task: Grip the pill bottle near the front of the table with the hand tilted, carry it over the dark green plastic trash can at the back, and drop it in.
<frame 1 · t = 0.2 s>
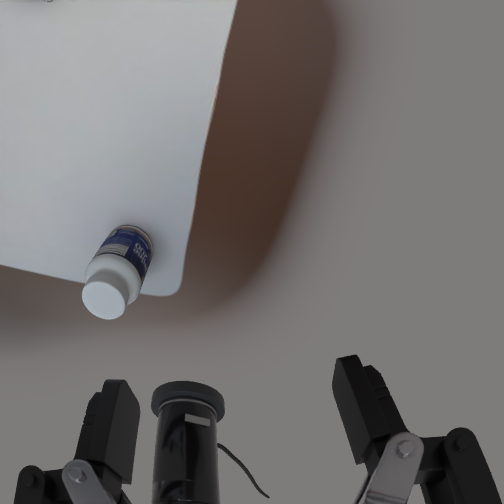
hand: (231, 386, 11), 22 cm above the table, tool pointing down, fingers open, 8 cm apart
pill bottle: (130, 245, 32), on the table
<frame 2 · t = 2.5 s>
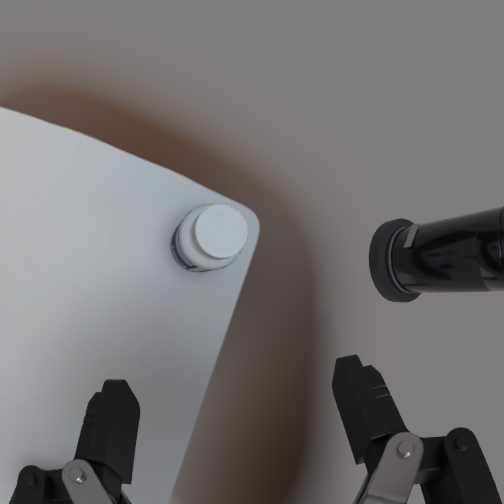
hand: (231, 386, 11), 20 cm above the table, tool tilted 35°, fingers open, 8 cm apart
pill bottle: (195, 245, 31), on the table
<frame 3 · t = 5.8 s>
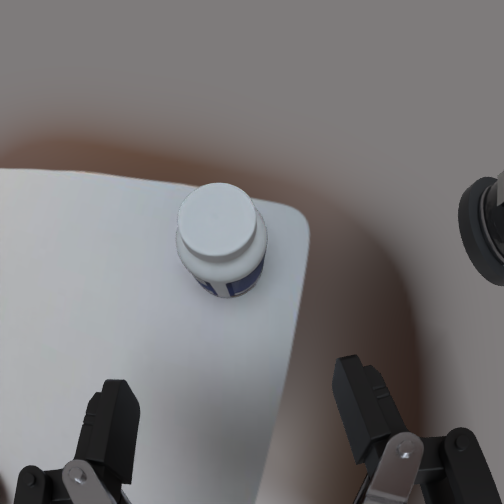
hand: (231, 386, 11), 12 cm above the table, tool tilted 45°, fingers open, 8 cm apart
pill bottle: (228, 265, 25), on the table
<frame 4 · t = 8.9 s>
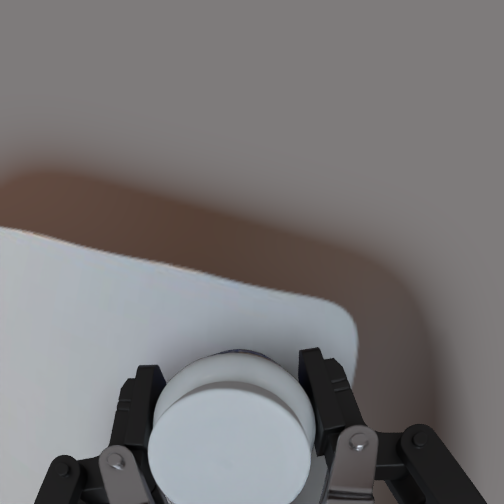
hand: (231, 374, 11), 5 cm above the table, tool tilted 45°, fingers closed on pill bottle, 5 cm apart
pill bottle: (239, 395, 15), on the table, touching gripper
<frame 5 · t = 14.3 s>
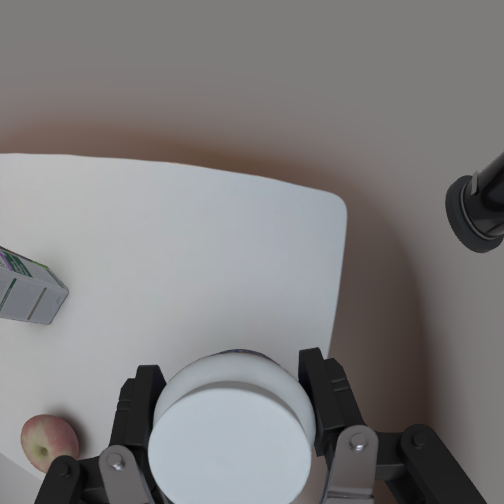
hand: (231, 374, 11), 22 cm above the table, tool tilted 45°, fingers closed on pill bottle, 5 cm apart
pill bottle: (239, 395, 15), point 17 cm above the table, touching gripper
apple: (68, 436, 29), on the table
syrup box: (48, 296, 34), on the table
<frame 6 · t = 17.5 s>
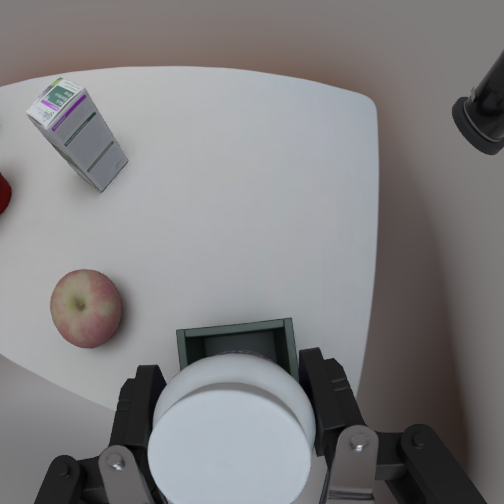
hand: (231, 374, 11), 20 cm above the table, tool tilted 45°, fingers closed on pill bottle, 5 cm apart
trash can: (242, 368, 30), on the table
pill bottle: (239, 396, 15), point 15 cm above the table, touching gripper
plastic cup: (0, 201, 35), on the table
apple: (104, 313, 31), on the table
syrup box: (103, 168, 37), on the table
when the fingers open (13 cm above the table, at t = 20.1 s): pill bottle drops 8 cm, resting on trash can.
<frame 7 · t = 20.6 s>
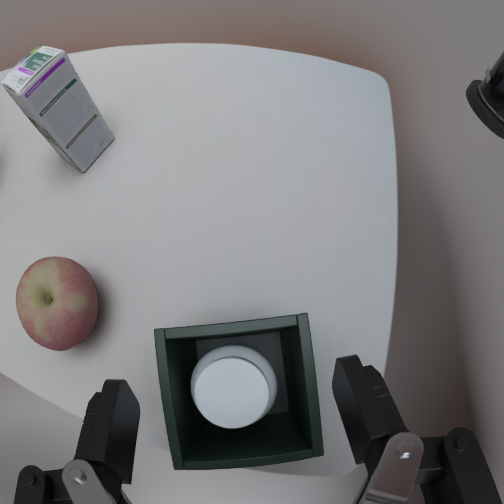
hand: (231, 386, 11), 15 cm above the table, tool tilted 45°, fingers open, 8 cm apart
trash can: (242, 376, 25), on the table
pill bottle: (237, 375, 24), resting on trash can
apple: (81, 309, 26), on the table
syrup box: (86, 148, 31), on the table
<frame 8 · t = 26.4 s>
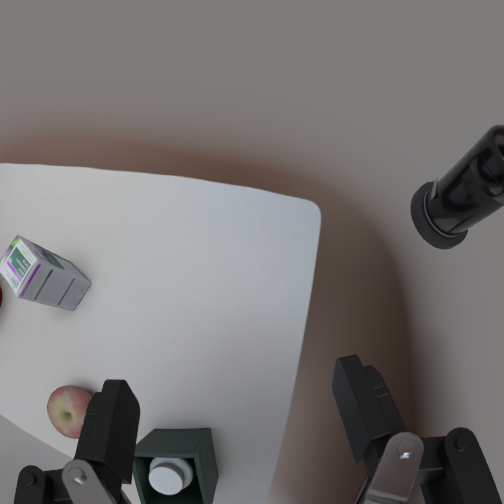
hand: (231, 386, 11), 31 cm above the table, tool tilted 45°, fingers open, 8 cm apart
trash can: (185, 454, 36), on the table
pill bottle: (182, 453, 35), resting on trash can
apple: (86, 407, 37), on the table
syrup box: (72, 287, 42), on the table
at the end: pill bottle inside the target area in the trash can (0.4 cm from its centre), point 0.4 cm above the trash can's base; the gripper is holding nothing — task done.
